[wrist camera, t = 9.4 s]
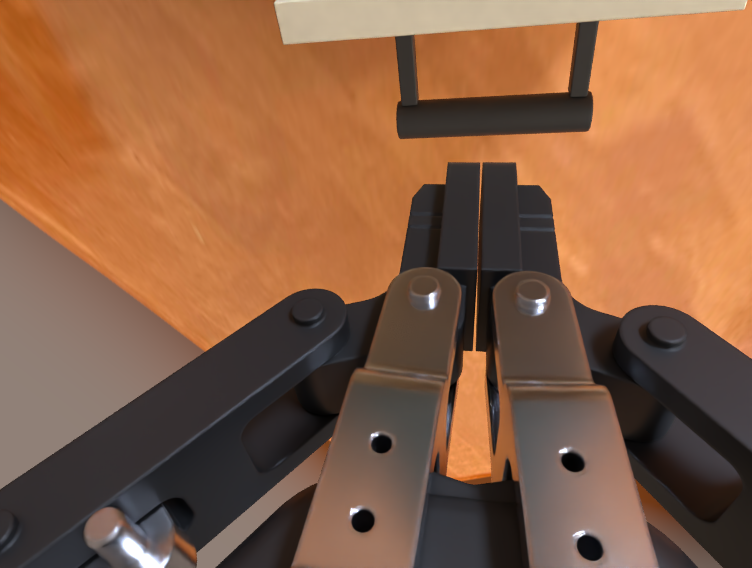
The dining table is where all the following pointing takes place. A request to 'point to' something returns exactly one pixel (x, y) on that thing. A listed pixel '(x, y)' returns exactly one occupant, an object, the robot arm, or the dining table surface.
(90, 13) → the dining table surface
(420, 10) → the drawer
